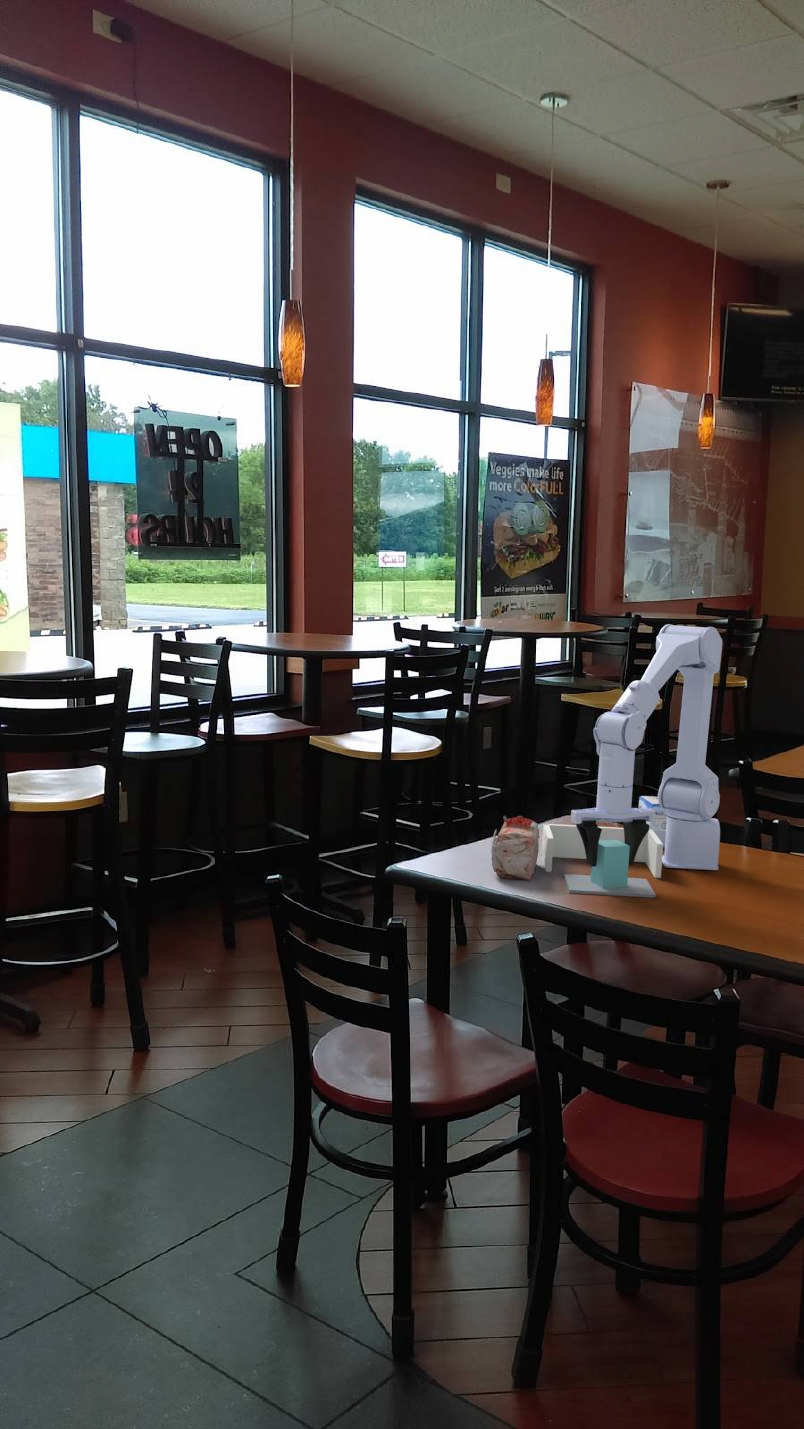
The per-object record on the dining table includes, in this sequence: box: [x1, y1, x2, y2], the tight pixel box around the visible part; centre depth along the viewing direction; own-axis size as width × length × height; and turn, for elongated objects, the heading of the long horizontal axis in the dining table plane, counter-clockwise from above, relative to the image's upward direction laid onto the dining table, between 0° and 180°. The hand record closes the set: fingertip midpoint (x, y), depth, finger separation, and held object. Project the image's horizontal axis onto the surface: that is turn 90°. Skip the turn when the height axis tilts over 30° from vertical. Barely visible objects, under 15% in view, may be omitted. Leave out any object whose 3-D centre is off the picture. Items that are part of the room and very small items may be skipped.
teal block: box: [590, 840, 630, 888], centre depth 190 cm, size 4×4×7 cm
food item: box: [490, 815, 540, 881], centre depth 197 cm, size 14×8×10 cm, turn 171°
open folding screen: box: [541, 823, 664, 879], centre depth 204 cm, size 20×12×6 cm, turn 86°
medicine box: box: [638, 795, 667, 848], centre depth 224 cm, size 8×4×9 cm, turn 6°
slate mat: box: [563, 873, 657, 898], centre depth 190 cm, size 14×10×1 cm
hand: (610, 864), depth 190 cm, fingers open, 6 cm apart
